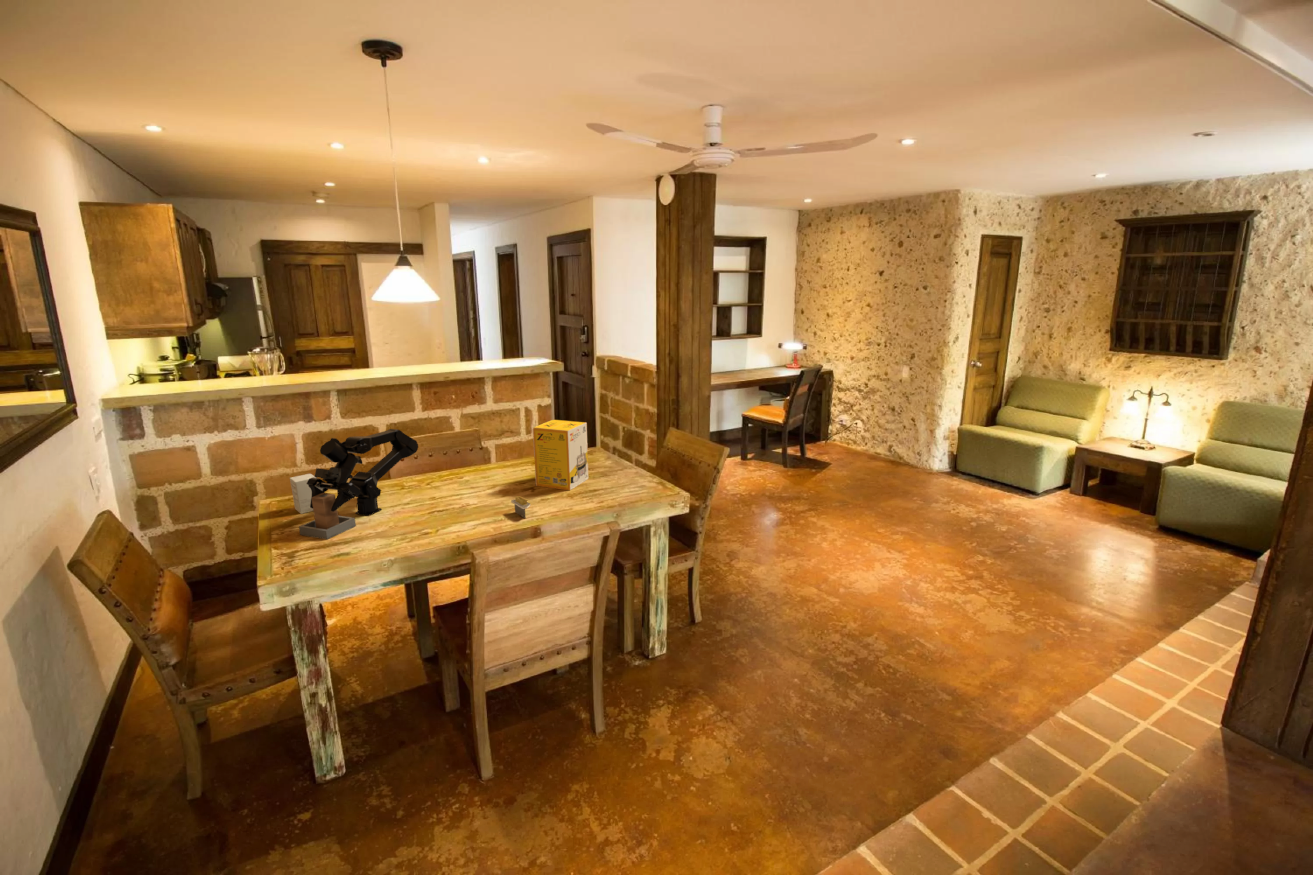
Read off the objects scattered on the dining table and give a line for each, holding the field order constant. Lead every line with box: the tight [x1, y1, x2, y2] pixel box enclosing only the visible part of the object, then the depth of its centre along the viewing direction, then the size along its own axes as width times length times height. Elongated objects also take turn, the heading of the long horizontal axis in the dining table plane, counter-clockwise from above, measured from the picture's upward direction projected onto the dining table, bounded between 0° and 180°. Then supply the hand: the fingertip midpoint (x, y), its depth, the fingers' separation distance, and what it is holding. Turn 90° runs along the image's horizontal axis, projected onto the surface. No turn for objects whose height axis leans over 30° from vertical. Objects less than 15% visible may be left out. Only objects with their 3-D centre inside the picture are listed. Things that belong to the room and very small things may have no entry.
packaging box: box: [532, 419, 589, 491], centre depth 253 cm, size 16×16×25 cm
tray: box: [298, 515, 357, 540], centre depth 206 cm, size 12×12×3 cm
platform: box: [510, 495, 531, 519], centre depth 219 cm, size 12×18×7 cm, turn 40°
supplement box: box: [289, 473, 316, 515], centre depth 225 cm, size 7×7×13 cm
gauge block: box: [311, 492, 339, 530], centre depth 205 cm, size 5×5×12 cm
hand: (321, 509), depth 203 cm, fingers open, 9 cm apart
